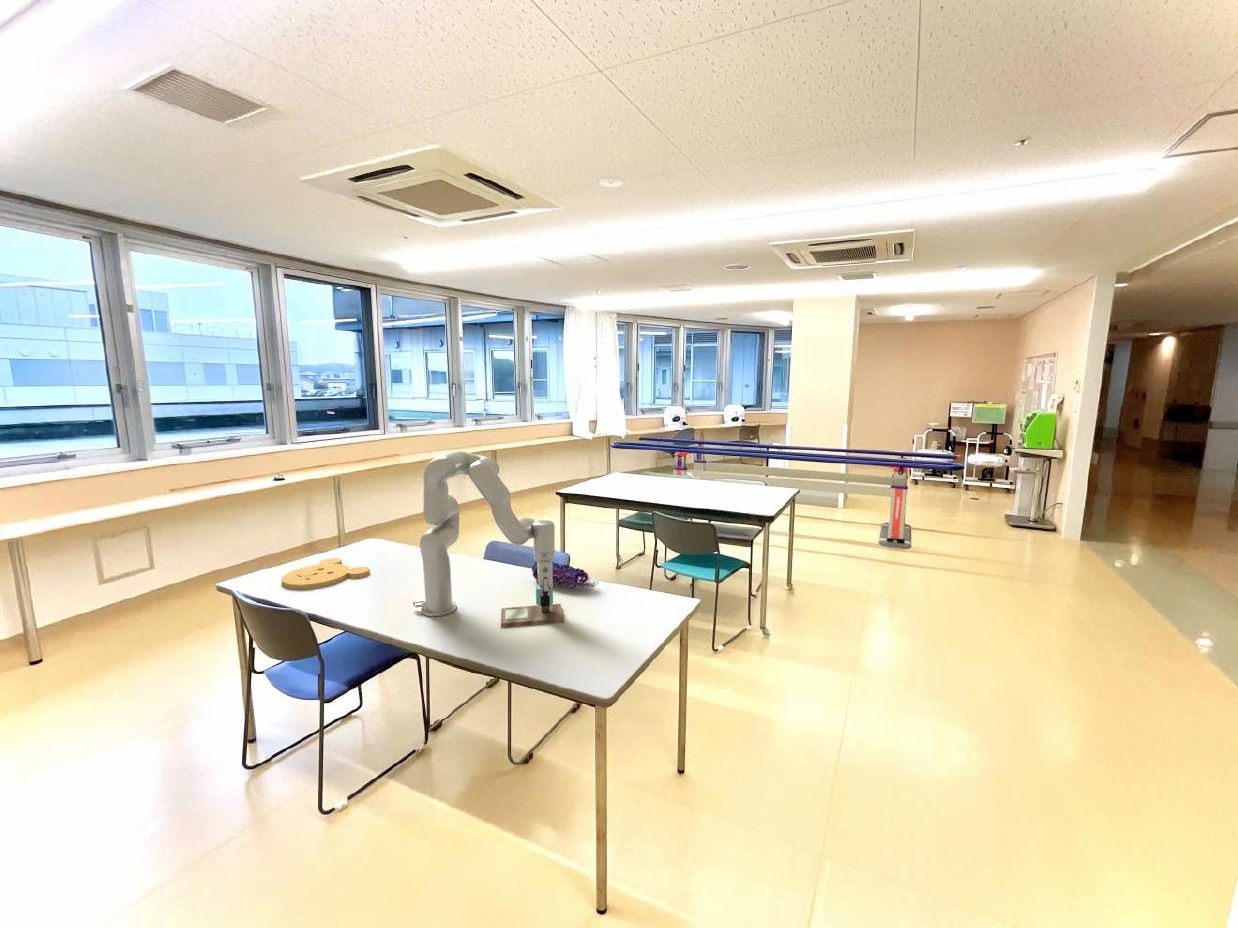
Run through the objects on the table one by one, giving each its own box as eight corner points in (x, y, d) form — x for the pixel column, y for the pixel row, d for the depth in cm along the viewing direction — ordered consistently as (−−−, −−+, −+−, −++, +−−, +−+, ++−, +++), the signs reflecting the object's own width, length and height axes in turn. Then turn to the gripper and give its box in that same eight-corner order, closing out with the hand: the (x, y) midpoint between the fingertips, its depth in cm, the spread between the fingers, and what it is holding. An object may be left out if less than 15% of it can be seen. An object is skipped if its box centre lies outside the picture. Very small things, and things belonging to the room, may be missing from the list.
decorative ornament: (549, 558, 239) (604, 569, 223) (545, 582, 238) (600, 594, 222) (529, 557, 228) (586, 569, 212) (525, 583, 227) (582, 596, 211)
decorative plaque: (305, 596, 215) (374, 574, 240) (305, 590, 214) (373, 569, 239) (267, 581, 231) (335, 562, 256) (266, 575, 231) (334, 556, 256)
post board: (500, 627, 187) (500, 604, 186) (501, 611, 200) (500, 590, 198) (563, 622, 192) (563, 599, 190) (560, 607, 204) (560, 586, 203)
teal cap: (553, 605, 194) (553, 589, 193) (536, 606, 192) (536, 590, 192) (552, 598, 199) (552, 583, 198) (535, 599, 198) (535, 584, 197)
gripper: (556, 562, 186) (556, 611, 188) (552, 547, 202) (552, 592, 205) (534, 563, 184) (535, 612, 187) (532, 548, 201) (533, 593, 203)
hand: (544, 601), depth 196 cm, fingers closed on teal cap, 6 cm apart
